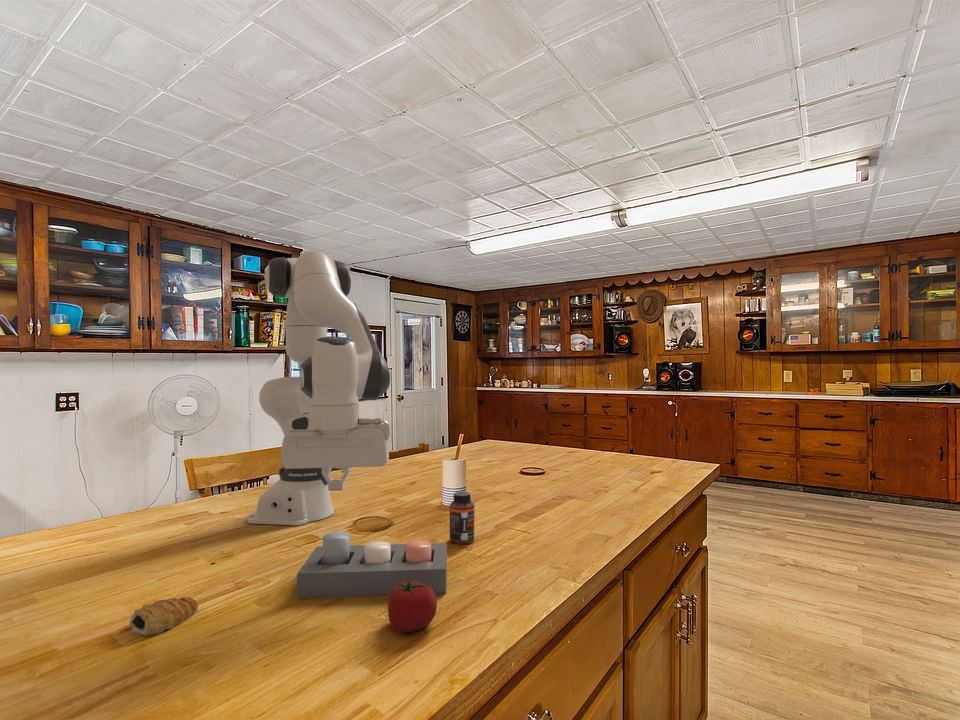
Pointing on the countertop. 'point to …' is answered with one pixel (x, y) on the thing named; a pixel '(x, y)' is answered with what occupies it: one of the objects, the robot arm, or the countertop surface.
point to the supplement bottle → (462, 518)
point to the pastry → (162, 615)
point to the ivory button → (378, 552)
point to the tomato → (411, 606)
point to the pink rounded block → (418, 551)
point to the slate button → (336, 548)
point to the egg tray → (370, 573)
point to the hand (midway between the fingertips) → (336, 489)
